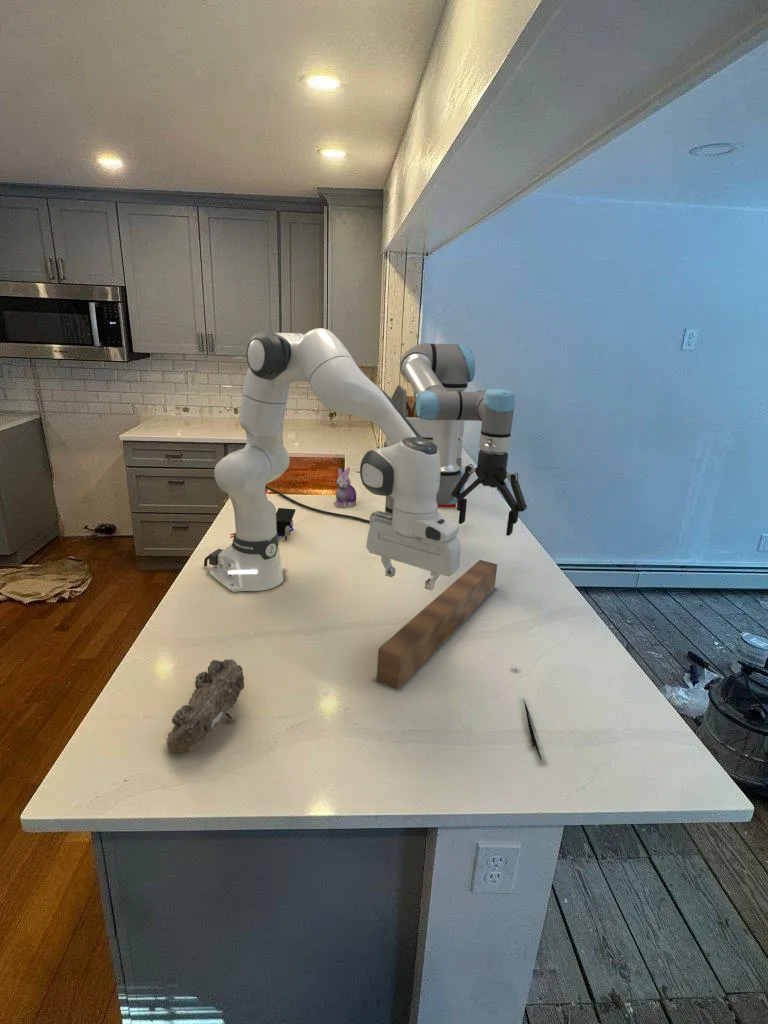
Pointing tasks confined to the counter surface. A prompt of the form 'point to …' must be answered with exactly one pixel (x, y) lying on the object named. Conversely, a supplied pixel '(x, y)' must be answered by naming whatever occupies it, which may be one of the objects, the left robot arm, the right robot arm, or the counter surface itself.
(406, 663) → the bar
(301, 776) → the counter surface
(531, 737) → the feather
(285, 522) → the figurine character
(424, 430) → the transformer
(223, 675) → the fossil
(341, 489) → the figurine
